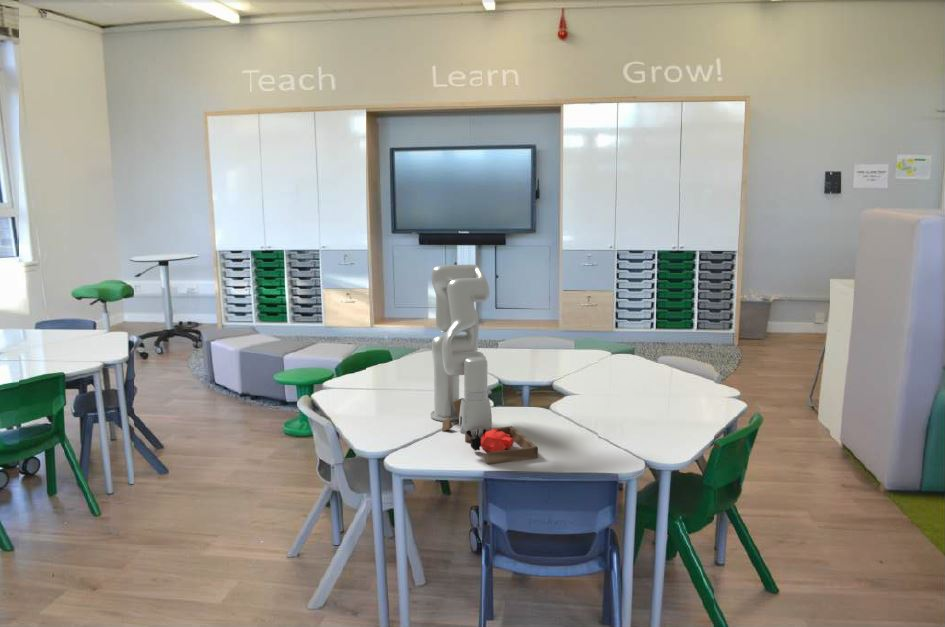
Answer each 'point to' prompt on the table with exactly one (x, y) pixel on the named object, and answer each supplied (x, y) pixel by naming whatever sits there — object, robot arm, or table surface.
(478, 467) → the table surface
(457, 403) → the wooden block set
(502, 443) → the animal figurine
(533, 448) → the frame
